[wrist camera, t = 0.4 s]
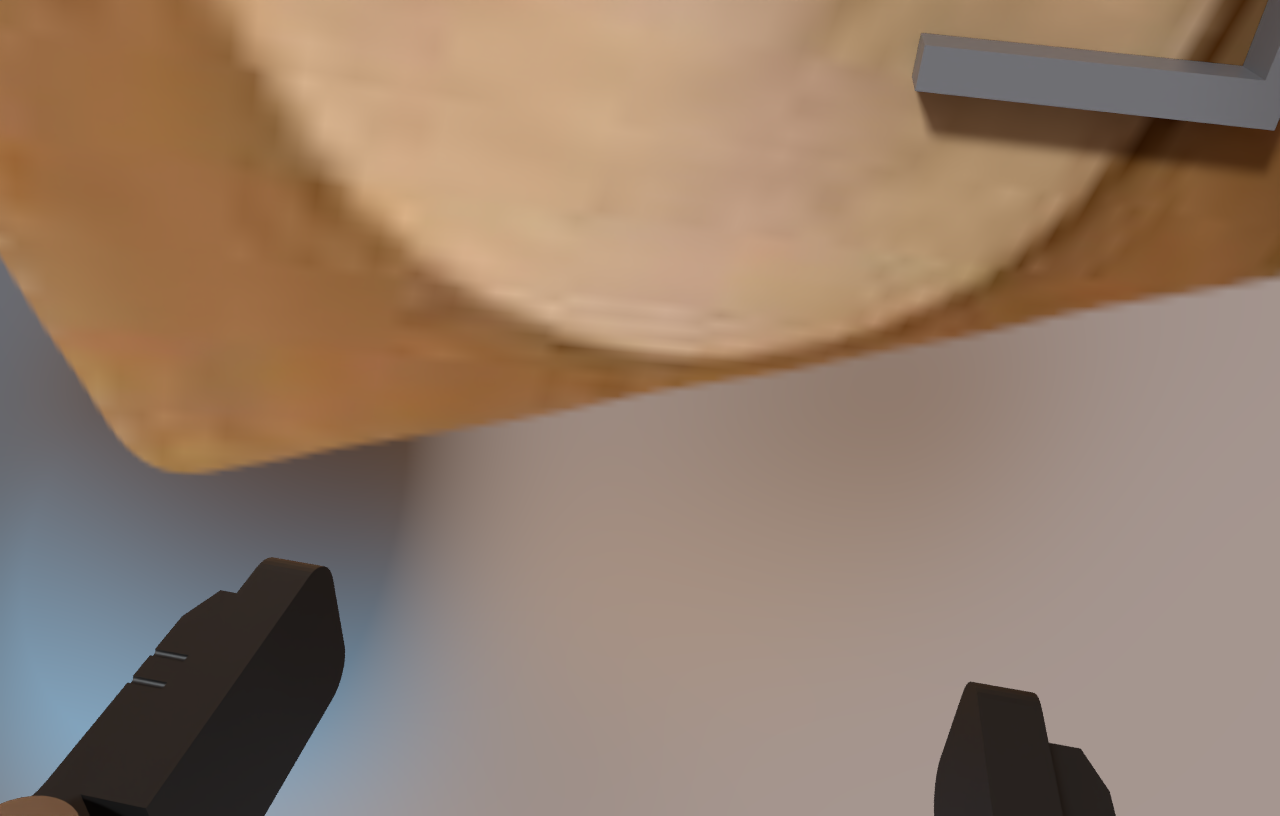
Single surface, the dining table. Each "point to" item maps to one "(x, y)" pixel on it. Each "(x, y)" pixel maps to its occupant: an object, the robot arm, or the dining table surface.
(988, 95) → the slot rails
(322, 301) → the dining table surface
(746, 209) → the dining table surface
